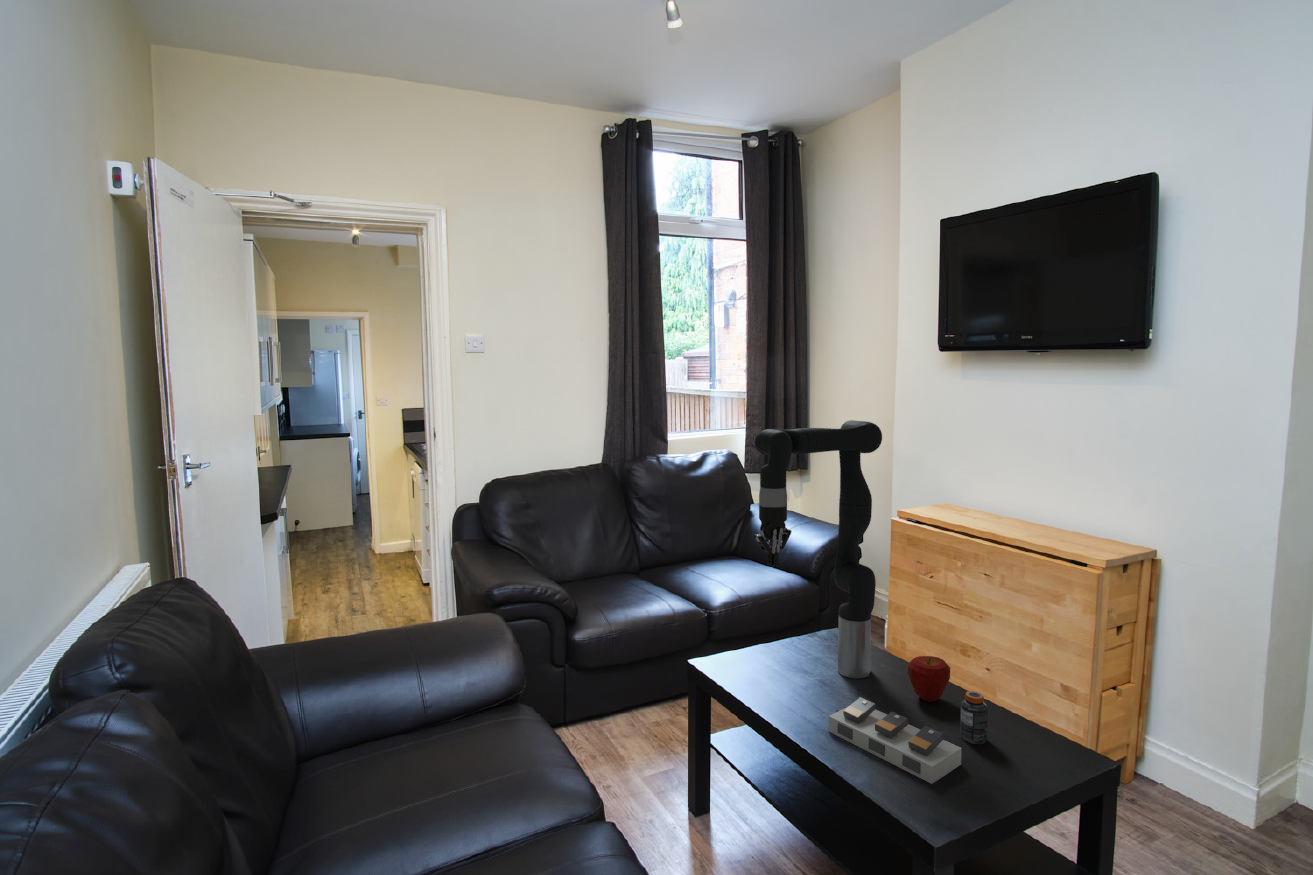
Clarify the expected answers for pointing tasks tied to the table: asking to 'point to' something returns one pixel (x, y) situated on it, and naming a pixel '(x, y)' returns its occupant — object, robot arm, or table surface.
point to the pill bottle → (974, 718)
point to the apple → (929, 677)
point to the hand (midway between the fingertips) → (772, 565)
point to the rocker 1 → (859, 710)
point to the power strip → (897, 746)
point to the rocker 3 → (926, 740)
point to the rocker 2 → (891, 724)
